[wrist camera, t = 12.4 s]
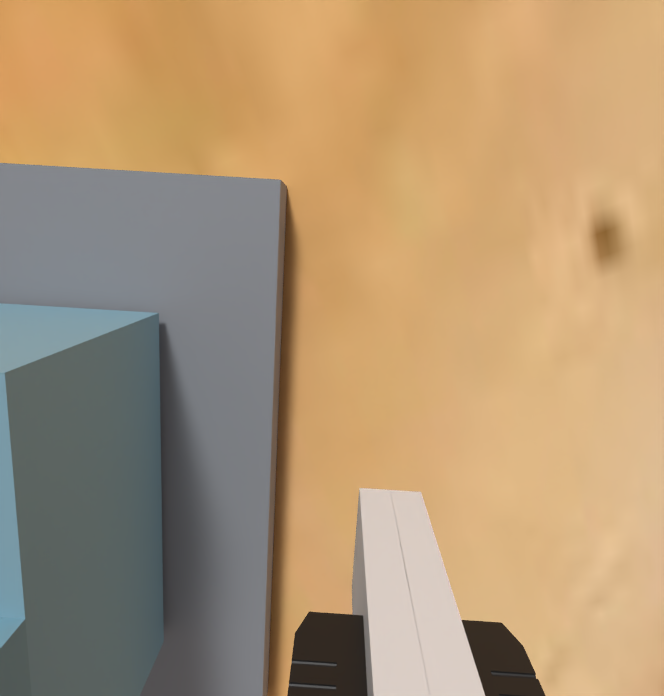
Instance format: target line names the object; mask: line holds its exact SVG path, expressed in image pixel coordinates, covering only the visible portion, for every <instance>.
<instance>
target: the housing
mask: <svg viewBox="0 0 664 696" xmlns="http://www.w3.org/2000/svg"><path fill="white" fill-rule="evenodd" d="M163 642H164V622H163V556H162V490H161V424H160V358H159V313H152V312H135V311H119V310H102V309H86V308H69V307H53V306H36V305H20V304H3V303H0V696H140V694H141V692H142V690H143V687H144V685H145V683H146V680H147V678H148V676H149V674H150V671H151V669H152V667H153V665H154V662H155V660H156V658H157V656H158V653H159V651H160V649H161V646H162V644H163Z"/></svg>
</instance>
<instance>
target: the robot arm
mask: <svg viewBox="0 0 664 696" xmlns="http://www.w3.org/2000/svg"><path fill="white" fill-rule="evenodd" d="M352 607H353V615H349V614H334V613H319V612H309V613H308V614H307V616H306V617H305V619H304V620H303V622H302V623H301V625H300V626H299V628H298V630H297V631H296V633H295V639H294V647H293V655H292V665H291V672H290V680H289V688H288V696H545V694H544V691H543V689H542V687H541V685H540V682H539V680H538V679H536V676H535V671H534V669H533V667H532V665H531V662H530V660H529V658H528V656H527V654H526V651H525V649H524V647H523V645H522V644H521V643H520V642H519V641H518V640H517V639H516V638H515V637H514V636H513V635H512V633H511V632H510V631H509V630H508V629H507V628H506V627H505V626H504V625H503V624H502V623H498V622H483V621H468V620H461V617H460V614H459V611H458V608H457V605H456V601H455V598H454V595H453V592H452V589H451V586H450V582H449V579H448V576H447V573H446V570H445V567H444V563H443V560H442V557H441V554H440V551H439V548H438V544H437V541H436V538H435V535H434V532H433V529H432V525H431V522H430V519H429V516H428V513H427V510H426V506H425V503H424V500H423V497H422V494H421V492H414V491H398V490H383V489H367V488H359V501H358V514H357V527H356V540H355V553H354V566H353V579H352Z"/></svg>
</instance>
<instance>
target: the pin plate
mask: <svg viewBox="0 0 664 696" xmlns="http://www.w3.org/2000/svg"><path fill="white" fill-rule="evenodd" d="M286 198H287V186H286V185H285V184H284V183H283V182H282V181H281V180H275V179H258V178H242V177H225V176H208V175H192V174H175V173H158V172H142V171H125V170H108V169H92V168H75V167H58V166H42V165H25V164H8V163H0V303H3V304H20V305H36V306H53V307H69V308H86V309H102V310H119V311H135V312H152V313H159V358H160V424H161V490H162V556H163V622H164V642H163V644H162V646H161V649H160V651H159V653H158V656H157V658H156V660H155V662H154V665H153V667H152V669H151V671H150V674H149V676H148V678H147V680H146V683H145V685H144V687H143V690H142V692H141V694H140V696H267V693H268V673H269V647H270V620H271V594H272V568H273V541H274V515H275V489H276V462H277V436H278V409H279V383H280V357H281V330H282V304H283V277H284V251H285V225H286Z"/></svg>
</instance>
